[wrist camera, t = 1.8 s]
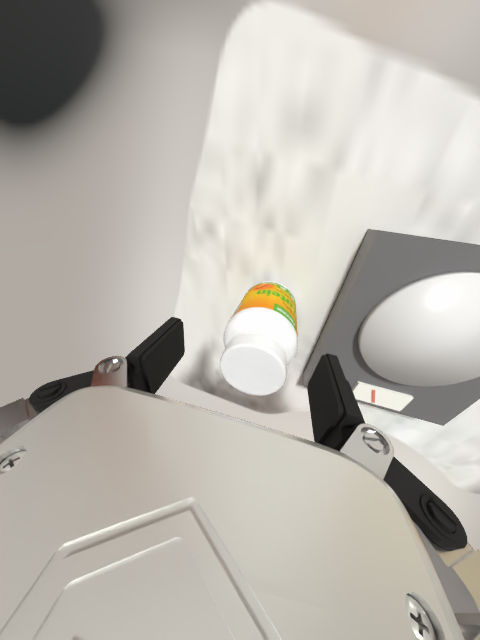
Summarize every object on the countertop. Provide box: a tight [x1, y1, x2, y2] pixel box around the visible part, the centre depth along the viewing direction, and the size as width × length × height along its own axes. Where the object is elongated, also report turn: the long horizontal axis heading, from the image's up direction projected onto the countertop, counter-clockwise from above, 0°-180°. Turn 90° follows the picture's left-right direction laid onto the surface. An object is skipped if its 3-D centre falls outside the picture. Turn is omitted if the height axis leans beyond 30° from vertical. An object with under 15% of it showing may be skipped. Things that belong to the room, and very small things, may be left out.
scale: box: [303, 229, 480, 426], centre depth 15 cm, size 14×16×3 cm
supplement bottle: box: [220, 281, 298, 396], centre depth 14 cm, size 5×5×10 cm
